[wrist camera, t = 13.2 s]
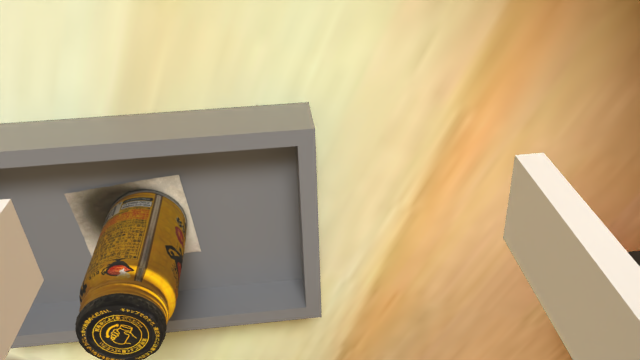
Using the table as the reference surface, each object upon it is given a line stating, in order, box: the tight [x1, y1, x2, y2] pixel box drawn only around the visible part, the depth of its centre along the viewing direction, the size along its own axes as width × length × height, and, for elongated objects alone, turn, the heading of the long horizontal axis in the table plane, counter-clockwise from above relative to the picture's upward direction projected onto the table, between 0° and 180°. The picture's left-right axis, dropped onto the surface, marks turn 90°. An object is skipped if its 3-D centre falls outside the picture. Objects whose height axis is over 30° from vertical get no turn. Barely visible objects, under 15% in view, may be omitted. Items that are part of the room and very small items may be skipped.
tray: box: [0, 102, 321, 348], centre depth 43 cm, size 26×17×4 cm, turn 92°
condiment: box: [64, 175, 201, 360], centre depth 39 cm, size 7×8×12 cm
